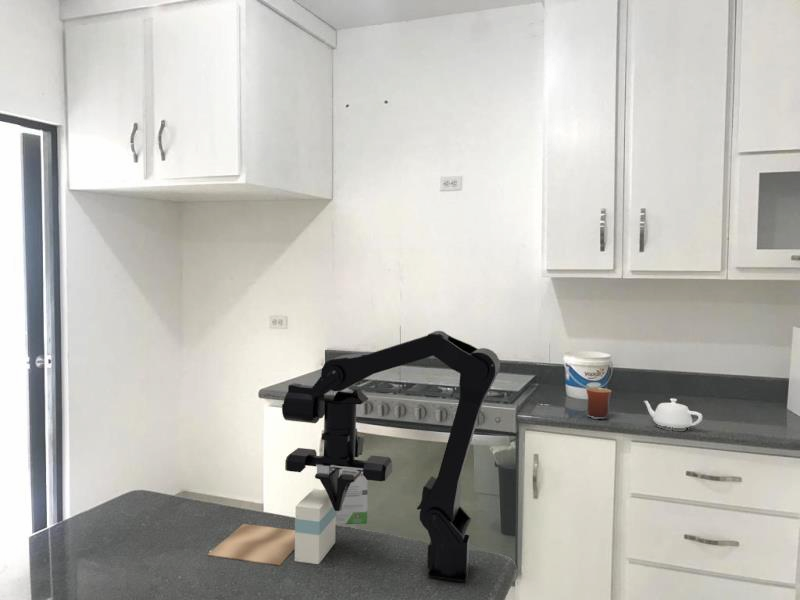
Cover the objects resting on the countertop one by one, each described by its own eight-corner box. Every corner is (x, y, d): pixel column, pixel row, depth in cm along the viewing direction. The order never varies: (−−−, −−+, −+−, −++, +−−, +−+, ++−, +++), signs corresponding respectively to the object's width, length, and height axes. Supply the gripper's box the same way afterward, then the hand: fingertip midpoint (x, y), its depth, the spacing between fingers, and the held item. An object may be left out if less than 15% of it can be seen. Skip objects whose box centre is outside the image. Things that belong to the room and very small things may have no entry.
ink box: (366, 515, 133) (367, 460, 132) (367, 525, 128) (368, 468, 127) (325, 515, 132) (326, 460, 131) (324, 525, 127) (325, 468, 127)
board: (309, 533, 123) (309, 532, 123) (279, 565, 110) (279, 564, 110) (243, 524, 126) (243, 523, 126) (207, 555, 113) (207, 554, 113)
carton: (335, 542, 120) (336, 491, 119) (318, 564, 111) (319, 508, 110) (312, 539, 121) (313, 488, 120) (294, 561, 112) (295, 506, 111)
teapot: (634, 425, 218) (635, 396, 217) (649, 419, 226) (651, 391, 226) (693, 437, 203) (695, 406, 203) (708, 431, 212) (709, 401, 211)
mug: (614, 421, 222) (615, 392, 222) (590, 421, 222) (592, 392, 221) (600, 413, 234) (601, 385, 234) (577, 413, 233) (578, 385, 233)
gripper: (400, 419, 119) (397, 500, 120) (307, 411, 123) (305, 489, 124) (385, 434, 108) (383, 523, 109) (284, 425, 113) (283, 510, 113)
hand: (337, 510), depth 114 cm, fingers closed
